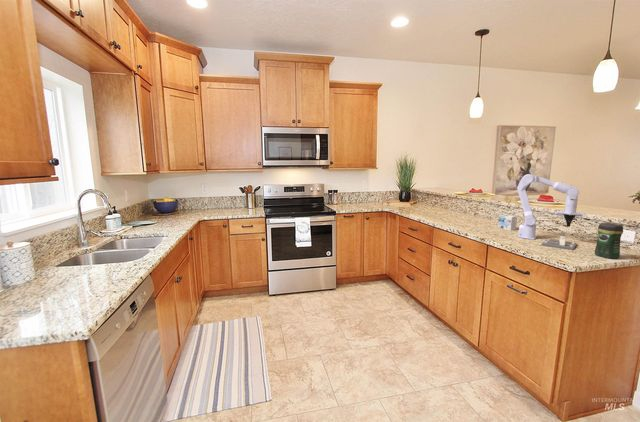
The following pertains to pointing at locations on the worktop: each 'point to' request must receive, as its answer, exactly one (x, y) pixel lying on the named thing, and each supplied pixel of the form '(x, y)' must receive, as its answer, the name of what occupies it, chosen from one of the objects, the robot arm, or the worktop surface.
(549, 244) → the fader console
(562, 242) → the fader cap cream
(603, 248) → the coffee jar
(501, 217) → the light bulb box
